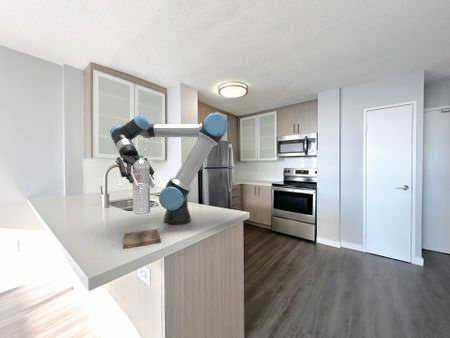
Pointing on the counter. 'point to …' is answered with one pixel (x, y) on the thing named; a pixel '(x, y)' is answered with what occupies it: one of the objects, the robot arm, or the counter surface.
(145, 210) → the water bottle
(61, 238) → the counter surface
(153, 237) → the walnut board
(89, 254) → the counter surface
